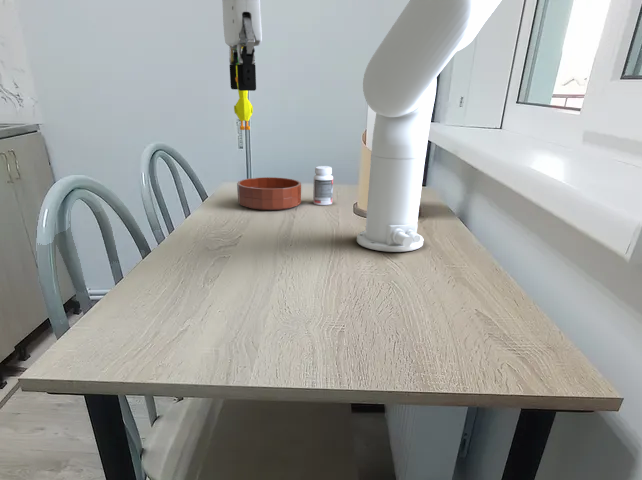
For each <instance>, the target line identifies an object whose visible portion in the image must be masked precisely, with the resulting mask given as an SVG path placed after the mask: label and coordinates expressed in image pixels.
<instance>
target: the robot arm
mask: <svg viewBox="0 0 642 480" xmlns="http://www.w3.org/2000/svg"><path fill="white" fill-rule="evenodd" d="M501 2H502V0H409V1H408V2H407V4H406V5H405V7H404V8H403V10H402V11H401V13H400V14H399V15H398V18H397V19H396V20H395V21H394V23H393V25H392V27H390V29H389V30H388V33H386V35H385V36H384V38H383V39H382V41H381V43H380V44H379V45H378V47H377V48H376V50H375V52H373V55H372V57H371V58H370V60H369V62H368V63H367V65H366V69H365V71H364V74H363V77H362V91H363V96H364V99H365V102H366V103H367V105H368V106H369V108H370V109H371V110H372V111H373V112H375V118H374V124H373V132H372V141H371V153H370V163H369V165H370V166H369V179H368V190H367V191H368V193H367V205H366V206H367V207H366V221H365V230H363V231H360V232H359V233H358V234H357V235H356V242H357V243H358V245H360V246H361V247H363V248H366V249H370V250H375V251H379V252H387V253H401V252H411V251H415V250H418V249H421V248H422V247H423V245H424V238H423V236H422V235H420V233H419V234H418V233H417V232H418V220H419V213H420V211H419V210H420V204H421V195H422V186H423V179H424V170H425V162H426V156H427V149H428V141H429V134H430V127H431V121H432V114H433V110H434V104H435V99H436V93H437V77H438V76H439V74H440V73H441V72H442V71H443V70H444V68H445V67H446V66H447V65H448V63H450V60H451V59H452V58H453V57H454V55H455V54H456V53H457V52H459V51H461V50H463V49H464V48H466V47H467V46H468V45H470V44H471V43H472V42H473V40H474V39H475V38H476V36H477V35H478V33H479V32H480V30H481V29H482V27H483V26H484V24H485V23H486V22H487V20H488V19H489V18H490V17H491V15H492V13H494V11H495V10H496V8H497V7H498V6H499V4H500V3H501ZM221 4H222V22H223V23H222V24H223V34H224V35H223V36H224V42H225V44H226V46H228V47H229V52H228V53H229V58H228V59H229V82H230V83H229V84H230V89H231V90H238V89H239V90H240V91H248V92H250V91H251V92H255V91H256V90H257V75H256V74H257V73H256V72H257V71H256V54H255V52H256V49H255V47H259V46H260V45H261V44H262V42H263V28H262V27H263V26H262V12H261V11H262V10H261V0H222V3H221ZM237 57H238V59H237ZM238 60H239V65H237V75H238V86H237V82H236V79H235V78H236V63H238Z"/></svg>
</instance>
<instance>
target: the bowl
mask: <svg viewBox="0 0 642 480" xmlns="http://www.w3.org/2000/svg"><path fill="white" fill-rule="evenodd" d="M236 189H237V191H236V192H237V203H238V204H239V205H240V206H243V207H246V208H248V209H251V210H257V211H281V210H282V211H283V210H288V209H291V208H294V207H297V206H300V205H301V204H302V182H301V181H299V180H297V179H293V178H286V177H275V176H274V177H273V176H272V177H271V176H266V177H265V176H263V177H261V176H260V177H251V178H245V179H241V180H238V181H237V183H236Z"/></svg>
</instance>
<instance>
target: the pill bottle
mask: <svg viewBox="0 0 642 480" xmlns="http://www.w3.org/2000/svg"><path fill="white" fill-rule="evenodd" d="M314 174H315V175H314V176H313V190H312V191H313V194H312V195H313V196H312V197H313V200H312V202H313V204H314V205H317V206H330V205H332V204H333V199H334V198H333V193H334V176H333V175H332V174H333V167H332V166H328V165H318V166H315V168H314Z"/></svg>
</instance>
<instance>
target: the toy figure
mask: <svg viewBox="0 0 642 480" xmlns="http://www.w3.org/2000/svg"><path fill="white" fill-rule="evenodd" d="M237 59H238V57H237ZM237 65H239V60H238V63H236V78H235V79H236V82H237V86H238V75H237ZM237 93H238V100H237V101H236V103H235V105H233V111H234V114H235V115H236V116H237V118H238V120H239V121H240V126H239V130H240V131H250V130H251V126H250V125H249V121H250V119H251V117H252V115H253V113H254V106H253V105H252V103H251V101H250V100H249V98H248V94H249V91H240V90H239V89H237ZM244 121H245V125H244Z"/></svg>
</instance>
